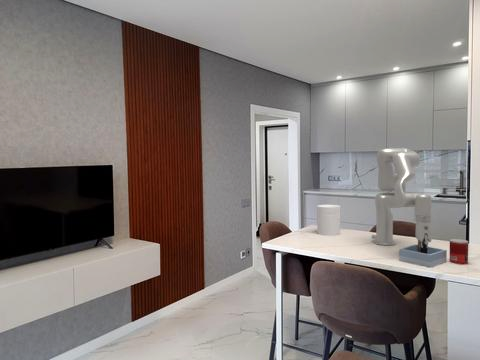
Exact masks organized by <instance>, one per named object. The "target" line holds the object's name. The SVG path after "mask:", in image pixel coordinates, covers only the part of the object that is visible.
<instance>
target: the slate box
mask: <svg viewBox="0 0 480 360" xmlns="http://www.w3.org/2000/svg"><path fill="white" fill-rule="evenodd" d="M447 255H448V254H447V249H443V248H437V247H431V246H428V248H427V254H425V253H420V252H418V244H413V245H412V244H411V245H409V246H404V247H402V248H399V249H398V261H400V262H405V263H408V264H412V265H417V266H420V267H426V268H433V267H435V266H438V265H440V264H444V263H446V262H447Z"/></svg>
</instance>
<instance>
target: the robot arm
mask: <svg viewBox="0 0 480 360" xmlns="http://www.w3.org/2000/svg"><path fill="white" fill-rule="evenodd" d="M420 162H421V159H420V155H419V154H418V153H417V152H416V151H414V150H411V149H409V148H406V147H388V148H380V149H379V150H378V151H377V154H376V163H377V167H378V171H377V172H378V173H377V174H378V176H377V187H378V190H379V191H383V192H381V193H377V194H376V195H375V197H374V204H375V212H376V216H375V217H376V221H375V223H376V224H375V225H376V229H375V230H376V231H375V232H376V234H372V235H371V239H373V243H374V244H376V245H380V246H394V245H396V241H394V235H393V233H394V230H393V229H394V220H393V219H394V216H393V213H392V212H391V210H390V209H400V208H414V222H415V238H416V240H417V245H418V252H419V241H421V247H420V253H425V254H427V248H428V247H429V243H431V242H432V225H431V222H432V197H431V195H430V194H424V193H423V192H406V188H407V187H406V185H407V184H406V183H408V182H410V181H411V180H414V178H415V175H416V174H415V171H414V169H413V167H414V168H415V167H417V166H419V165H420V164H421V163H420ZM391 163H393V165H392V164H391ZM394 171H395V174H396V175H394ZM384 191H385V192H384ZM392 191H393V192H392ZM423 240H425V241H423Z"/></svg>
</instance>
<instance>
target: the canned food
mask: <svg viewBox="0 0 480 360" xmlns="http://www.w3.org/2000/svg"><path fill="white" fill-rule="evenodd" d="M449 262H450V263H453V264H457V265H466V264H468V263H469V241H468V240H465V239H459V238H451V239H449Z"/></svg>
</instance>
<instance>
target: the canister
mask: <svg viewBox="0 0 480 360" xmlns="http://www.w3.org/2000/svg"><path fill="white" fill-rule="evenodd" d="M316 208H317V209H316V211H317V219H316V220H317V222H316V223H317V226H316V227H317V231H316V232H317V234H318V235H319V234H320V236H326V237H331V236H332V237H334V236H339V235H341V205H339V204H318V205H317V206H316Z"/></svg>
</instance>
